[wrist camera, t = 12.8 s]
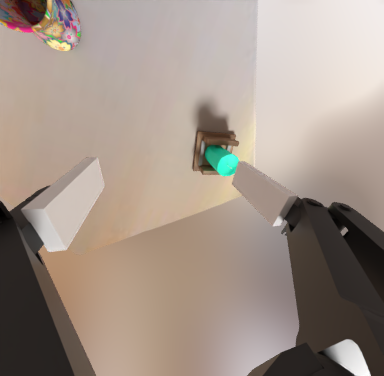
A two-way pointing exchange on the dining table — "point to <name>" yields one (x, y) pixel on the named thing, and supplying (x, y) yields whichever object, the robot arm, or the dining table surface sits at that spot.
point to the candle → (221, 160)
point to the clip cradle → (205, 141)
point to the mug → (43, 21)
